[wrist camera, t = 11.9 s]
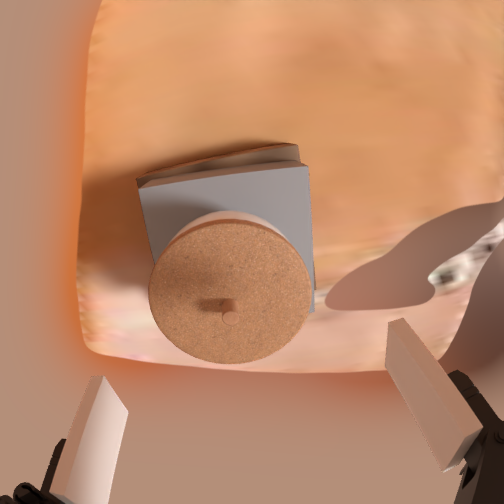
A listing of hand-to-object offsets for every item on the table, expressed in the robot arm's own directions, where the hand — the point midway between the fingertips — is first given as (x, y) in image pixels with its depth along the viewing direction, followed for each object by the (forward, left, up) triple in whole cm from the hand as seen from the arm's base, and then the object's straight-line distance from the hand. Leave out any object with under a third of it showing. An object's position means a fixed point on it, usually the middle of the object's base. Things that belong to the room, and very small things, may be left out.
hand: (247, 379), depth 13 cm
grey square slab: (0, +1, -20) cm, 20 cm away
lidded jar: (+1, 0, -15) cm, 15 cm away
